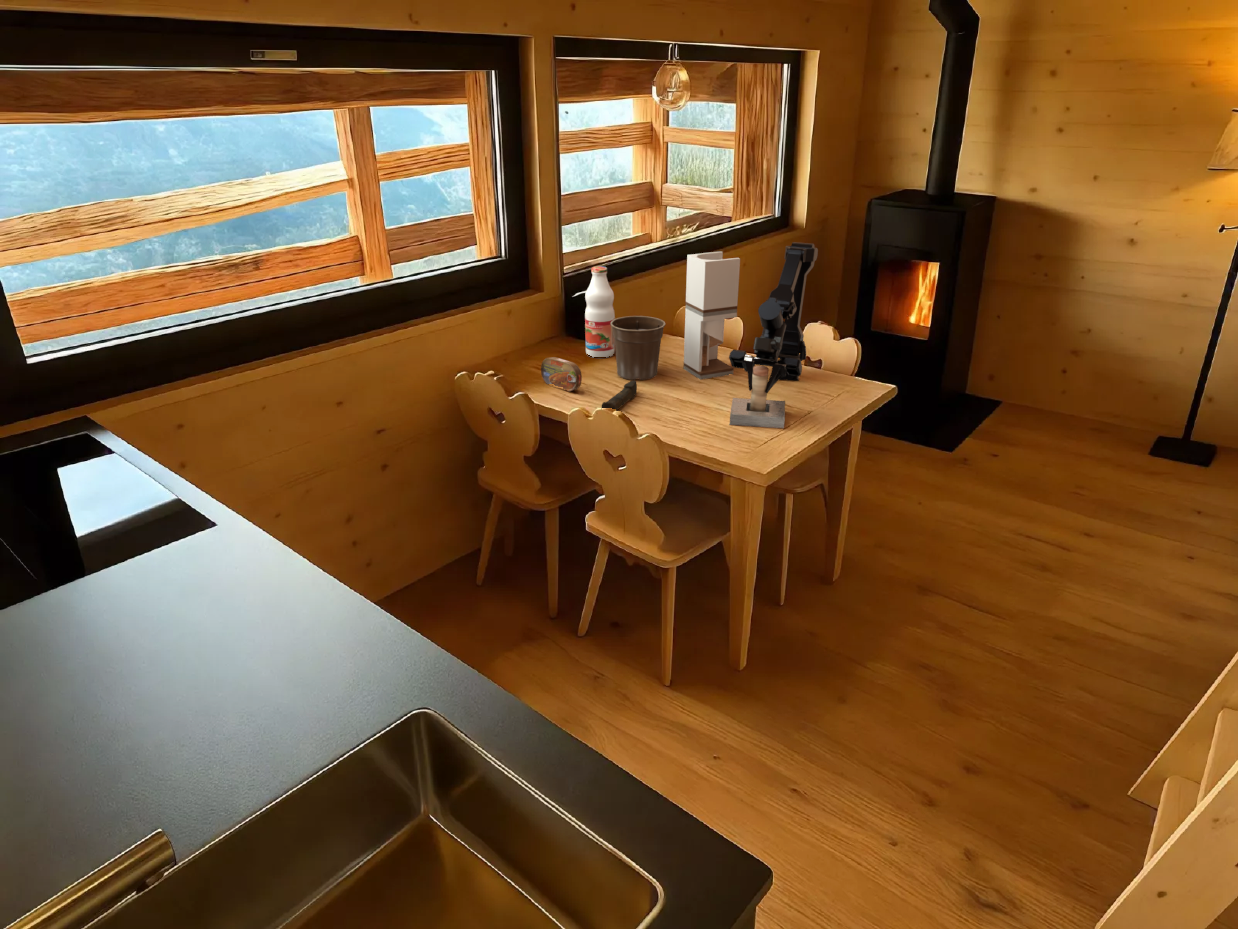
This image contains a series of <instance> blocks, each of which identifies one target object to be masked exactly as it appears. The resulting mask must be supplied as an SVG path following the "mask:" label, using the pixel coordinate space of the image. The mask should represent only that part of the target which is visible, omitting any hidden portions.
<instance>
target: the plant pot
mask: <svg viewBox="0 0 1238 929" xmlns="http://www.w3.org/2000/svg"><path fill="white" fill-rule="evenodd" d="M611 326H612V329H613V337H614V339H615V360H616V361H615V362H616V373H617V375H618V377H620V378H622V379H625V380H630V381H633V380H635V381H636V380H637V379H638V380H640V381H644V380H651V379H653V378H655V377H656V376H657V375H658V368H659V361H660V360H659V358H660V351H661V344H662V338H663V333H664V328H665V326H666V322H665V321H664V320H663V319H661V318H657V317H652V316H645V315H629V316H622V317H617V318H615V319H614V320H612V321H611Z"/></svg>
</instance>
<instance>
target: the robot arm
mask: <svg viewBox="0 0 1238 929" xmlns="http://www.w3.org/2000/svg"><path fill="white" fill-rule="evenodd" d="M818 252H819V249H818V248H817V247H815V244H814V243H808V242H806V243H805V242H795V241H794V242H793V241H792V243H791V245H786V246H785V252H784V257H783V258H784V260H785V261H784V263H783V264H784V265H783V268H782V271H781V273H780V277H779V281H778V284H777V286H776V287H775V288H774V289H773V290H771V291H770V293H769V296H768V298H767V299H766V300H765V302H762V304H760V305H759V307H758V315H759V320H760V324H761V327H762V333H761V335H760V337H757V336H756V337H755V338H754V342H753V348H752V350H754V352H753V353H754V355H755V356H753V355H749V354H747V351H746V350H741V349H732V350H731V351H730V352H729V356H728V360H729V362H730V364H731V365H730V366H731V367H733V368H734V369H735V368H736V369H743V370H744V372H746V373H747V380H748V390H749V392H752V378H753V367H755V366H765V367H771V372H770V375H769V376H768V383H767V386H766V390H765V392H766V393H767V394H768V393H769V392H770V390H771V389H773V387H774V386H775V384H776V383H777V382H778V381H794V382H798V381H800V376H801V375H802V371H803V365H802V361H806V359H807V347H806V344H805V340H804V337H805V336H804V333H803V331H802V328H801V326H800V325H801V317H802V311H803V306H804V305H803V304H804V297H805V291H806V290H805V289H806V284H807V283H806V282H807V276H808V274H809V273H810V272H811V270H812V269H813V268H814V266H815V261H817V260H818V255H819V253H818Z"/></svg>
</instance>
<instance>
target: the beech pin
mask: <svg viewBox="0 0 1238 929" xmlns="http://www.w3.org/2000/svg"><path fill="white" fill-rule="evenodd" d="M769 370H770V369H769V366H763V365H755V366H754V367H753V378H752V390H751V391H750V399H751V406H750V411H755V412H765V410H766V400H767V396H768V395H767V394H768V393H766V392H765V390H766V386H767V383H768V380H769Z"/></svg>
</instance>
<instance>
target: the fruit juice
mask: <svg viewBox="0 0 1238 929" xmlns="http://www.w3.org/2000/svg"><path fill="white" fill-rule="evenodd" d="M590 271H591V274H592V276H591V280H590V283H589V285H588V287H587V289H586V291H585V296H584V298H585V299H584V300H585V302H586V307H585V310H584V311H585V313H584V321H585V322H584V323H585V324H584V328H585V329H584V332H585V333H584V334H585V353H586V355H587V354H588V355H590V356H592V357H591V358H594V357H606V358H610V357H613V356H614V355H613V354H615V352H616V350H615V339H614V337H613V329H612V326H611V321H612V320H614V319H616V317H615V316H616V315H615V309H614V305H613V303H614V299H615V294H614V291H613V289H612V287H611V286H610V282H609V281H608V277H607V274H608V267H606V266H601V265H599V266H598V265H596V266H593V267H591V270H590ZM588 355H587V356H588ZM590 356H589V357H590ZM609 356H610V357H609Z"/></svg>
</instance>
